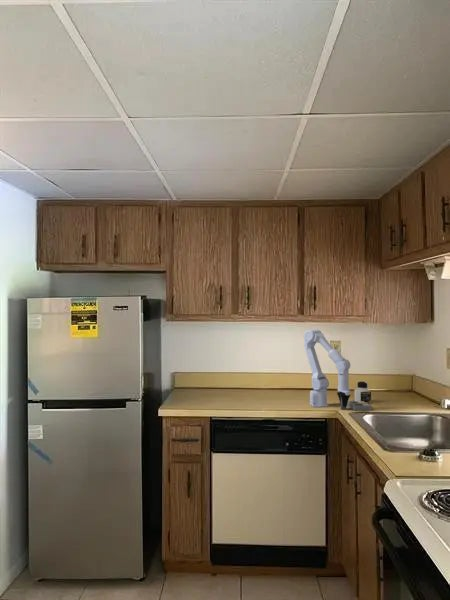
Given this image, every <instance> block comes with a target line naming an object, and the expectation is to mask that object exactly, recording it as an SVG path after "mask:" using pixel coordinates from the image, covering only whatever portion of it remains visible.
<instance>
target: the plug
mask: <svg viewBox="0 0 450 600" xmlns="http://www.w3.org/2000/svg"><path fill="white" fill-rule="evenodd" d="M340 410H342V411H345V410H347V407H343V406H342V400H341V405H340Z"/></svg>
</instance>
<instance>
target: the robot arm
mask: <svg viewBox="0 0 450 600" xmlns="http://www.w3.org/2000/svg"><path fill="white" fill-rule="evenodd" d="M303 339H304V341H303V347H304V350H305V351H304V352H305V354H306V357H307V360H308V364H309V366H310V370H311V374H312V376H311V379H310V380H311V388H312V389H313V390H309V405H310V406H312V407H313V408H319V407H322V408H323V407H324V408H325V407H330V405H329V404H328V403H327V402H328V399H327V397H328V394H327V393H328V392H327V391H328V388H329V385H330V381H329V379H327V376H326V374H325V373H324V372H322V368H321V364H320V361H319V359H318V358H319V357H318V355H317V352H316V349H315V346H316V345H317V343H318V344H320V345H321V346H322V347H323V348H324V349H325V350H326V352H327V353H328V357H329V358H330V359H331V360H332V362H333V363H334V364H335V368H336V370H337V378H338V379H337V384H338V385H337V392H336V395H337V397H338V400H339V405H340V406H341V400H342V406H343V407H346V408H348V407H347V403H348V401H349V399H350V397H351V394H350V391H352V389H350V387H349V384H350V383H349V381H350V380H349V379H350V375H349V374H350V373H349V371H350V368H351V362H350V360H349V359H347V358H345V357H344V356H343V355H342V354H341V353H340V350H338V349H336V348H333V346H332V345H331V344H330V342H329V341H328V340H327V339H326V336H325V335H324V333H323V332H322V330H320V329H318V328H317V329H311V330H310V329H308V330H306V331H305V333H303Z"/></svg>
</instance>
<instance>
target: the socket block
mask: <svg viewBox="0 0 450 600" xmlns="http://www.w3.org/2000/svg"><path fill="white" fill-rule="evenodd" d="M346 408H350V410H352V411H353V412H358V411H359V412H360V411H365V412H366V411H372V410H373V406H372V405H371V404H370V403H366V402H364V401H355V400H351V401H350V400H348V403H347V407H346Z"/></svg>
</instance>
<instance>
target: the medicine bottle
mask: <svg viewBox="0 0 450 600" xmlns="http://www.w3.org/2000/svg"><path fill="white" fill-rule="evenodd" d="M354 401H364V402H366V403H368V404H370V403H371V404H372V390H370V389H369V383H368V382H367V381H357V389H354Z"/></svg>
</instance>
